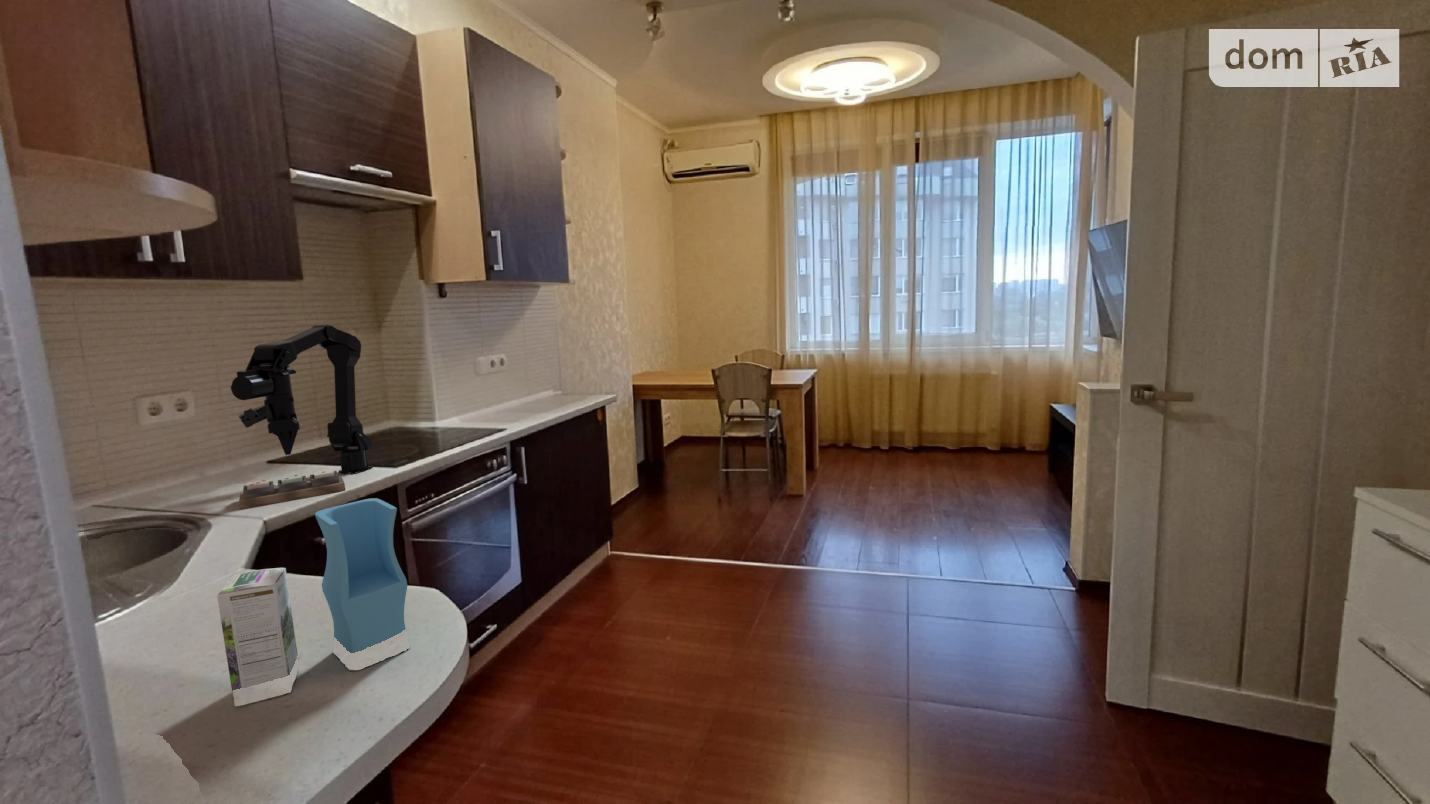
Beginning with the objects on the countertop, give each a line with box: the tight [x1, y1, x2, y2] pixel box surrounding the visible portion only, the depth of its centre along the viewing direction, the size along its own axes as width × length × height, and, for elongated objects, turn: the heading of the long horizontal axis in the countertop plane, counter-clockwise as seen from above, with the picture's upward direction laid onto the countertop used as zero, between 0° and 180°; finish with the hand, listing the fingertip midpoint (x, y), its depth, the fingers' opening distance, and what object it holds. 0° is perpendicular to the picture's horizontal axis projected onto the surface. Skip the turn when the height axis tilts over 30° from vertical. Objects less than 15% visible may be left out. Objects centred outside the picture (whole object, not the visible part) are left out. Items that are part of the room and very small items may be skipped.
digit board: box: [238, 470, 346, 510], centre depth 158 cm, size 22×9×4 cm, turn 126°
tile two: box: [280, 473, 303, 484], centre depth 157 cm, size 4×4×2 cm
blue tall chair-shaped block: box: [314, 497, 408, 653], centre depth 82 cm, size 8×8×20 cm
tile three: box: [246, 478, 270, 490], centre depth 153 cm, size 4×4×2 cm
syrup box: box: [217, 567, 299, 692], centre depth 75 cm, size 6×6×14 cm
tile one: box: [313, 468, 335, 479], centre depth 161 cm, size 4×4×2 cm
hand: (287, 454), depth 156 cm, fingers closed
